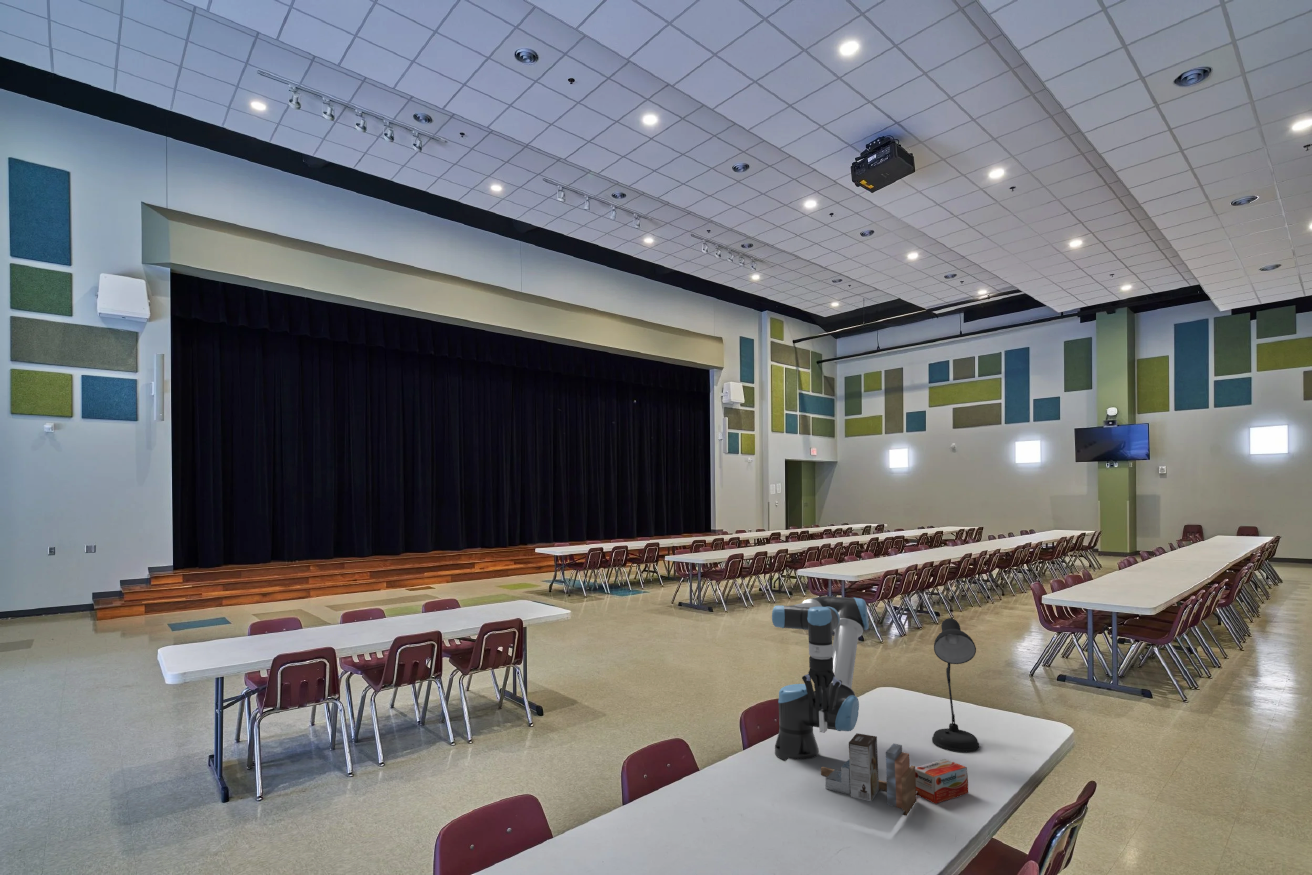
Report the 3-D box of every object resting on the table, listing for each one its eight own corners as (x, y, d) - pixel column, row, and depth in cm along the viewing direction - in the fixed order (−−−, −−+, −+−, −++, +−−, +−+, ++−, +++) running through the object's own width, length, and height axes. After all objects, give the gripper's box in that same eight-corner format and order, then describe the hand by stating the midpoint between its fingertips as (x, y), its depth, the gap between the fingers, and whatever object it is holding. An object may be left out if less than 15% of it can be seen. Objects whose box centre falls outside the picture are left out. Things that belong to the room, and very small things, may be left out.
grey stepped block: (825, 788, 202) (824, 763, 203) (835, 779, 209) (834, 754, 209) (849, 794, 198) (849, 768, 199) (858, 785, 205) (857, 759, 205)
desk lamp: (960, 763, 223) (954, 627, 227) (902, 738, 247) (897, 615, 251) (1010, 751, 234) (1003, 621, 237) (950, 728, 257) (944, 610, 261)
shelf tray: (809, 790, 204) (807, 736, 206) (822, 777, 213) (820, 726, 215) (906, 815, 188) (904, 757, 189) (916, 800, 197) (914, 745, 198)
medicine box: (946, 783, 209) (945, 757, 209) (969, 793, 201) (968, 766, 202) (913, 794, 201) (912, 767, 202) (935, 805, 194) (934, 776, 195)
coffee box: (858, 785, 205) (856, 732, 206) (879, 790, 201) (877, 735, 203) (850, 797, 197) (848, 741, 198) (872, 802, 194) (870, 745, 195)
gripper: (797, 655, 216) (799, 730, 214) (835, 661, 208) (838, 739, 206) (806, 650, 222) (809, 723, 220) (844, 656, 214) (847, 731, 212)
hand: (823, 730), depth 213 cm, fingers closed
